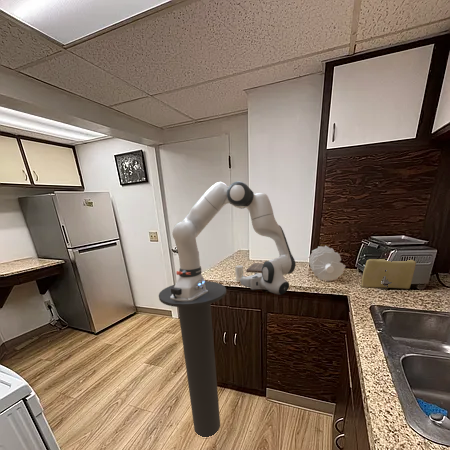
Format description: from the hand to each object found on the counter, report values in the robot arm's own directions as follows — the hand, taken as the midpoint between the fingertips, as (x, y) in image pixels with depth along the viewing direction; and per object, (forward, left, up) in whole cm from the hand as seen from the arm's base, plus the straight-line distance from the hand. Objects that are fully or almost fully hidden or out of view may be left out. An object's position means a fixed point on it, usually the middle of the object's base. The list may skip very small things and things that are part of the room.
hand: (249, 275), depth 147 cm
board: (+35, -1, -5) cm, 36 cm away
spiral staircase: (+23, -42, -5) cm, 48 cm away
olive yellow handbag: (+10, -72, -5) cm, 73 cm away
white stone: (+6, +8, -5) cm, 11 cm away
